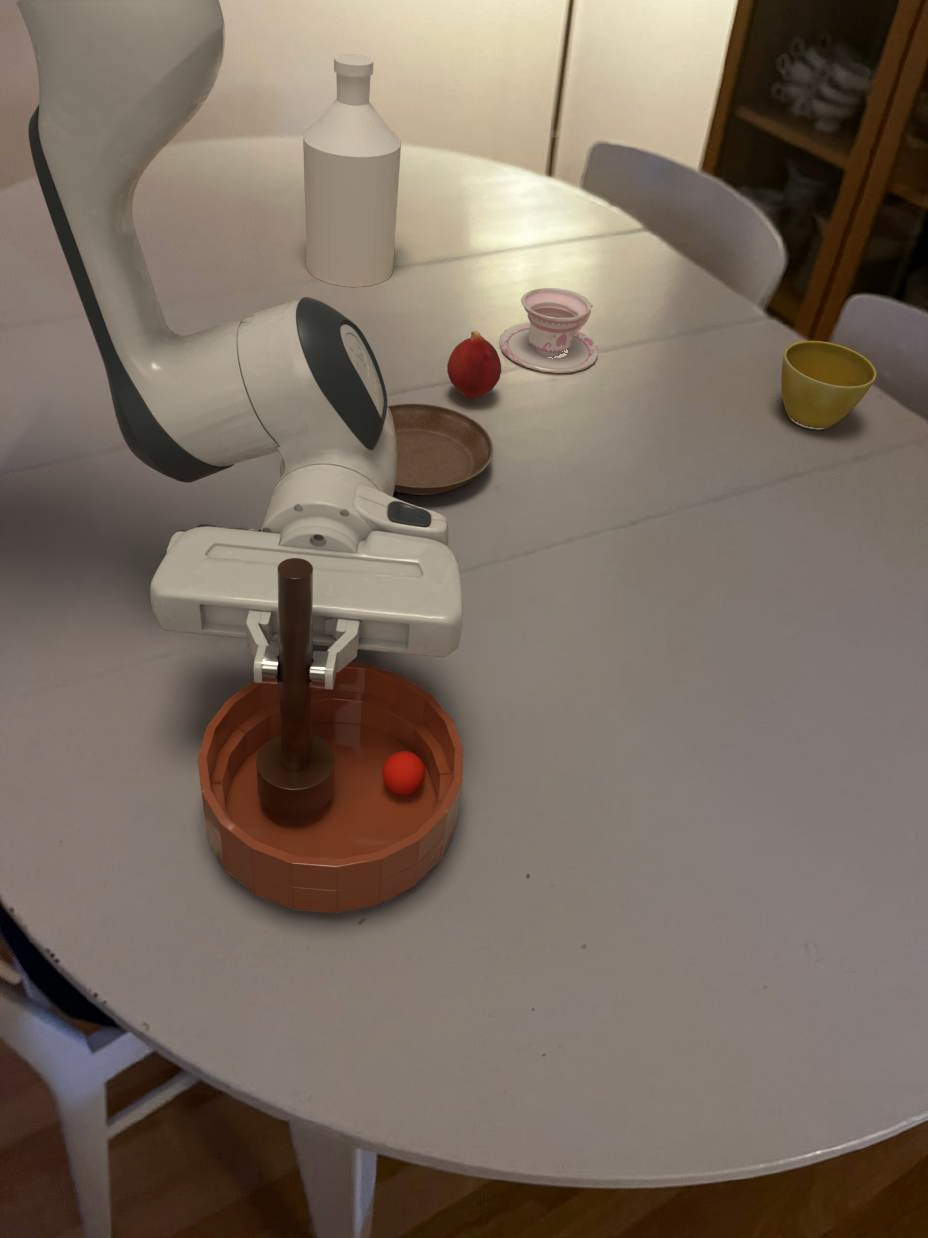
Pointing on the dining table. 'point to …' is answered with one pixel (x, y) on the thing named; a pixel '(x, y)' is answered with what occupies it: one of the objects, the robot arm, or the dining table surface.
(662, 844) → the dining table surface
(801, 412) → the flower pot
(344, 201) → the bottle
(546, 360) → the teacup
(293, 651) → the wooden peg stand
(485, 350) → the onion
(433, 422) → the saucer
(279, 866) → the bowl
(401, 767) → the cherry tomato
